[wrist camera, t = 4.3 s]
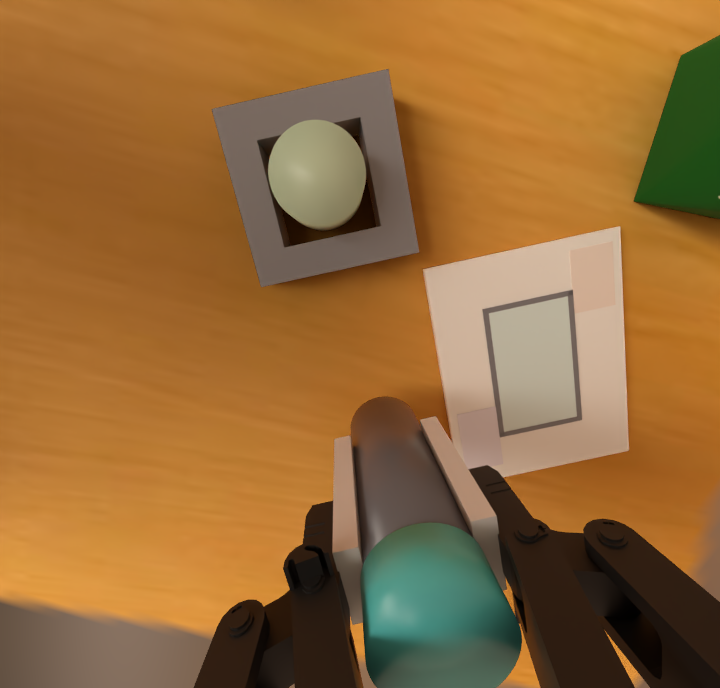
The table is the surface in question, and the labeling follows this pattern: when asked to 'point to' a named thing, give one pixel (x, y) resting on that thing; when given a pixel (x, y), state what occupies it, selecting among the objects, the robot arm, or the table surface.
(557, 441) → the sheet
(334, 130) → the button cap
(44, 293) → the table surface
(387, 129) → the button housing
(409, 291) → the table surface
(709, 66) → the milk carton
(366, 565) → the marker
